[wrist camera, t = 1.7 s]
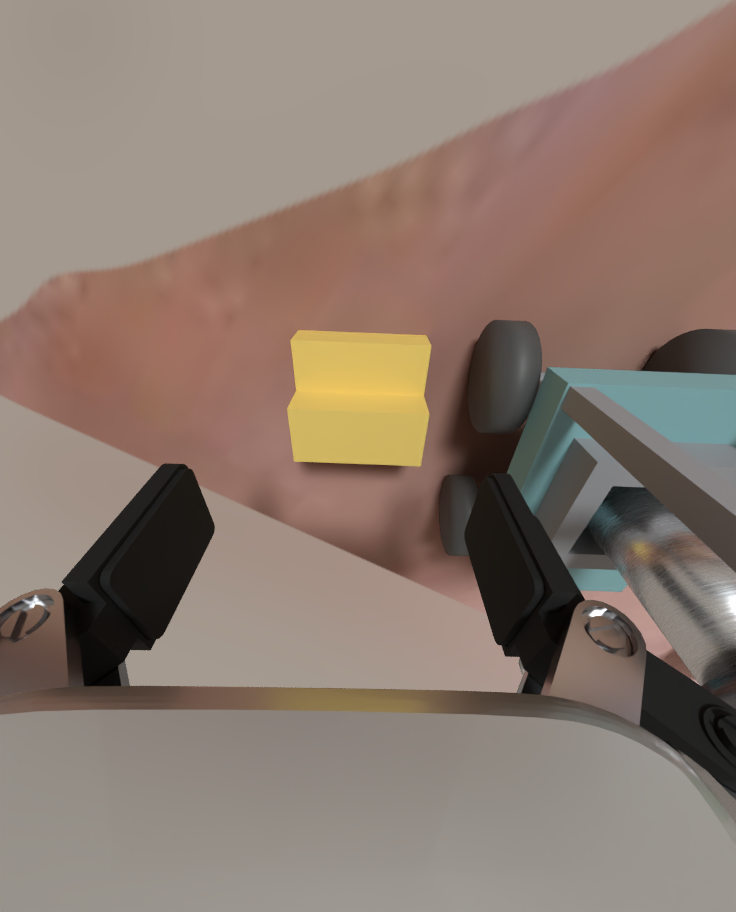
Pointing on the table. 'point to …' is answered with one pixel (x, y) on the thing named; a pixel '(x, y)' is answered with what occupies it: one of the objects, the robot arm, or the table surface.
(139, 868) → the robot arm
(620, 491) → the pin
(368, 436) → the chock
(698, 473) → the trolley
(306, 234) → the table surface
